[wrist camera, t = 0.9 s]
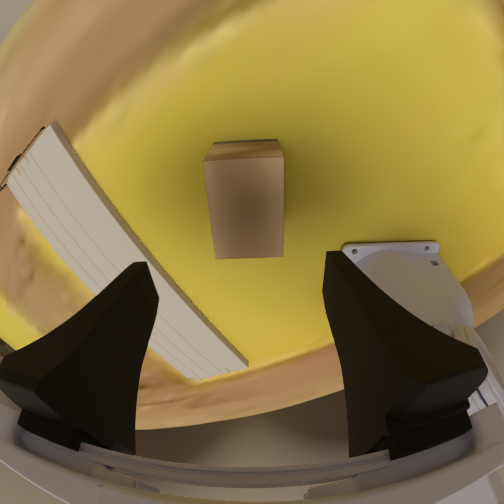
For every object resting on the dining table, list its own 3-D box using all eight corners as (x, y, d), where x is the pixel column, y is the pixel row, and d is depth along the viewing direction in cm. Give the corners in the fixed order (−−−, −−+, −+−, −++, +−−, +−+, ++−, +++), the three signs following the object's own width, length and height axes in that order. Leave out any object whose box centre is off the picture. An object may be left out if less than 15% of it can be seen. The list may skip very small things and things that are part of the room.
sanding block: (276, 138, 17) (283, 157, 14) (277, 220, 21) (283, 256, 17) (214, 142, 17) (203, 161, 14) (222, 222, 21) (215, 259, 17)
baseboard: (180, 374, 34) (248, 357, 31) (177, 392, 31) (248, 377, 29) (6, 187, 18) (60, 119, 16) (-12, 200, 16) (38, 127, 14)
